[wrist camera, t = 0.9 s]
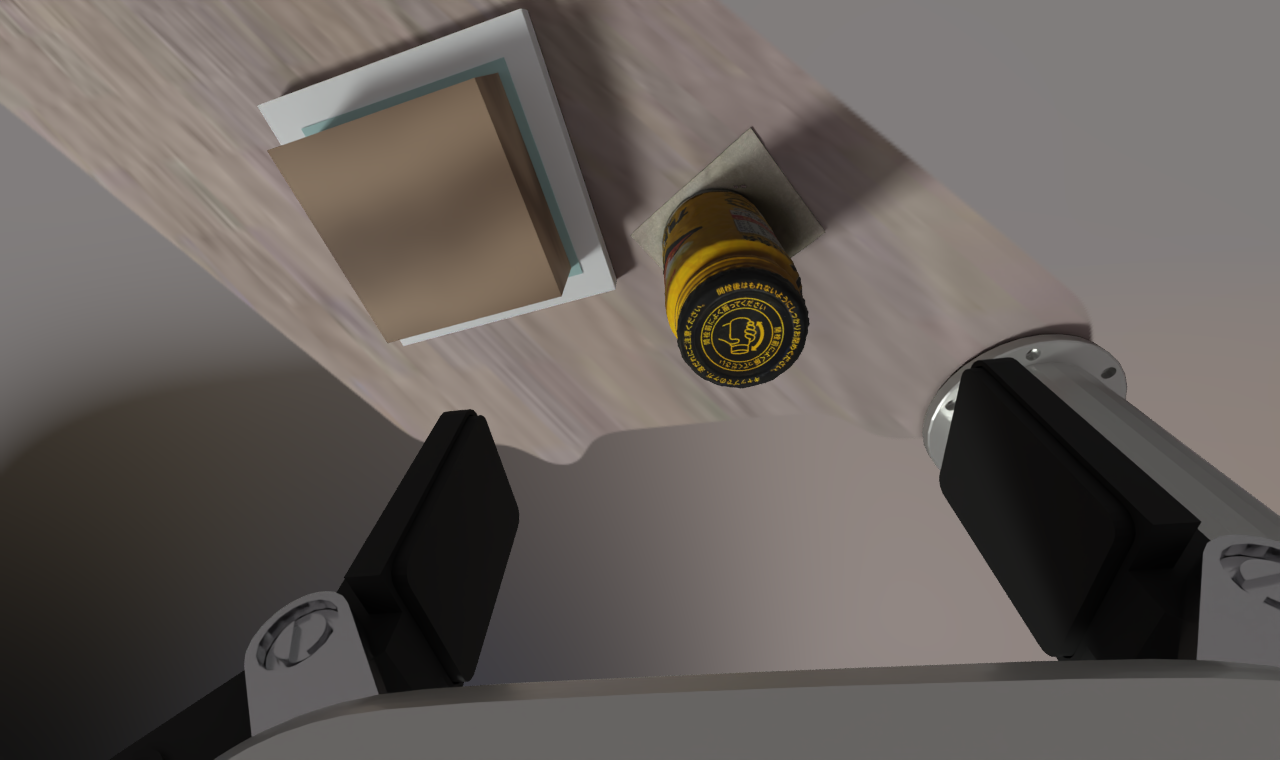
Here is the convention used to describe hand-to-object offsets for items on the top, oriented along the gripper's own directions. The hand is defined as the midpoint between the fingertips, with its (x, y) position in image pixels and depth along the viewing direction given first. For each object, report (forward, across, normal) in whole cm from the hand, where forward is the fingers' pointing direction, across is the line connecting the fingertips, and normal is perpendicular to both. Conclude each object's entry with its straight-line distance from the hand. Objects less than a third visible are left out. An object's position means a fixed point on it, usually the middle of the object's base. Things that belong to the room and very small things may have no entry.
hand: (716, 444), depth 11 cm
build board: (+22, +12, -1) cm, 25 cm away
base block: (+20, +12, -1) cm, 24 cm away
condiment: (+22, -2, +3) cm, 23 cm away
